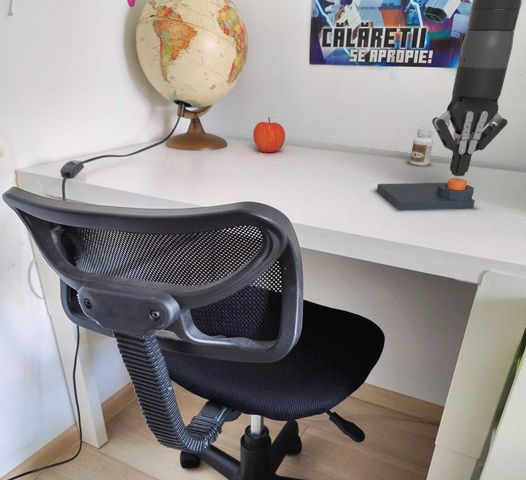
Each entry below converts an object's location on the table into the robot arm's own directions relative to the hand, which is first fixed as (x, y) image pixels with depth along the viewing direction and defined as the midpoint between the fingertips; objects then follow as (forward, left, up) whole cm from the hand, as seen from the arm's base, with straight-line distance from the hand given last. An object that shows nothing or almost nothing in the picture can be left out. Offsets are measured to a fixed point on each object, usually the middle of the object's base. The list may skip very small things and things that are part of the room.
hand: (457, 174), depth 89 cm
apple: (+28, -45, -5) cm, 53 cm away
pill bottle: (-6, -30, -5) cm, 32 cm away
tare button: (0, +1, -2) cm, 2 cm away
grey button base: (+5, -2, -5) cm, 7 cm away
